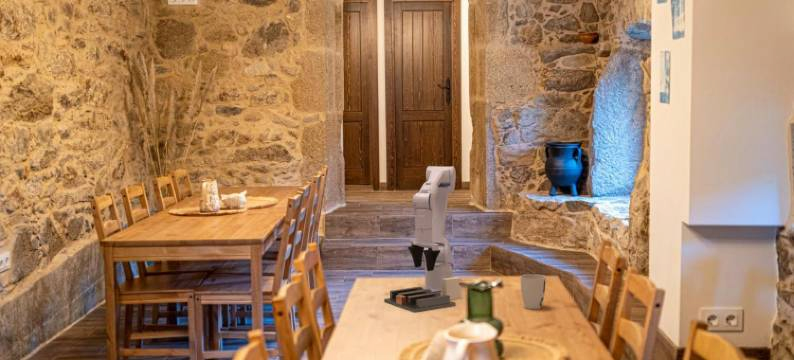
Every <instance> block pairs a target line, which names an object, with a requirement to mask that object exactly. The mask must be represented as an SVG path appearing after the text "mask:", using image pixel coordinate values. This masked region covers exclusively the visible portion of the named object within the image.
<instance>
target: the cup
mask: <svg viewBox="0 0 794 360" xmlns="http://www.w3.org/2000/svg"><path fill="white" fill-rule="evenodd" d="M546 280H547V277H546V276H545V275H543V274H538V273H537V274H535V273H534V274H530V273H529V274H522V275H520V290H521V296H522V297H521V298H522V301H523V305H524V308H525V309H528V310H540V309H541V308H542V306H543V304H544V303H543V302H544V298H545V293H546V283H547V281H546Z"/></svg>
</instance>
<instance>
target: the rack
mask: <svg viewBox="0 0 794 360" xmlns="http://www.w3.org/2000/svg"><path fill="white" fill-rule="evenodd" d="M422 287H423V286H413V287H408V288H400V289H392V290H389V297H388V298H384V299H383V302H384V303H387V304H389V305H391V306H395V307H398V308H400V309H403V310H406V311H409V312H412V313H419V312H425V311H426V312H427V311H431V310H432V311H433V310H437V309H439V310H440V309H445V308H450V307H456V302H455V301H453V300H450V296H449V295H443V296H442V292H440V291H437V292H431V290H430V289H425V290H424V289H422Z"/></svg>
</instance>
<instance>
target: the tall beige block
mask: <svg viewBox="0 0 794 360" xmlns="http://www.w3.org/2000/svg"><path fill="white" fill-rule="evenodd" d="M461 281H462V279H461V277H460V276H459V277H458V276H453V277H451V278H444V279H442V291H441V296H443V295H449V296H450V301H453V300H459V299H462V285H461V286H458V283H459V282H461ZM461 283H462V282H461Z"/></svg>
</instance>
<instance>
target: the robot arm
mask: <svg viewBox="0 0 794 360" xmlns="http://www.w3.org/2000/svg"><path fill="white" fill-rule="evenodd" d="M425 170H426V171H425V179H426V181H425V182H424V183H423V184H422V185H421V187H420V189H419V191H418V192H416V193H415V194H413V197H412V208H413V215H414V220H415V222H414V226H415V227H414V228H415V229H414V231H415V233H414V234H415V237H414V238H409V245H411V246H408V247H407V248H408V250H409V253H410V255H411V258H412V260H413V265H414V268H421V267H422V263H423V266H424V281H425V282H424V285H423V286H421V287H422V290H425V289H430V290H431V293H433V292H442V279H444V278H451V277H454V271H453V267H452V265H451V264H450V263H449V262H450V260H451V243H450V241H449V240H447V239H446V238H445V237H444V236H445V228H446V220H447V219H446V218H447V211H448V202H449V198H450V197H449V196H450V194H451V193H453V192H454V191H455V187H456V179H457V176H456V175H457V173H456V168H455V167H454V166H453V165H452V166H431V165H429V166H427V167H426V169H425Z"/></svg>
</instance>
